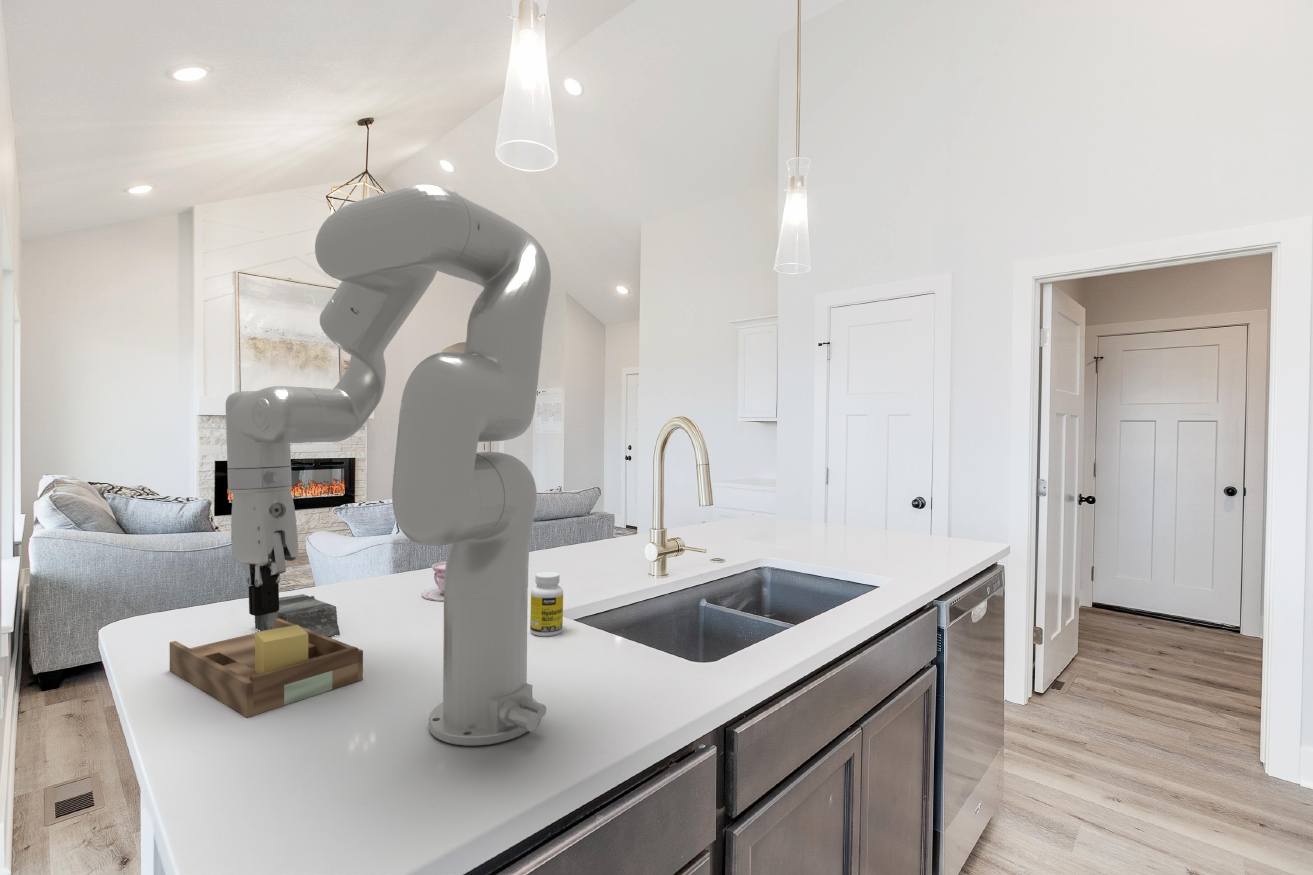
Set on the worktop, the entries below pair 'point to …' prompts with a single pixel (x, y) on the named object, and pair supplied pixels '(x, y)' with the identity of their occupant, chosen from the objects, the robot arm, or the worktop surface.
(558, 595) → the supplement bottle
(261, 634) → the block
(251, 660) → the box
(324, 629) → the stone block
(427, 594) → the teacup
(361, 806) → the worktop surface
